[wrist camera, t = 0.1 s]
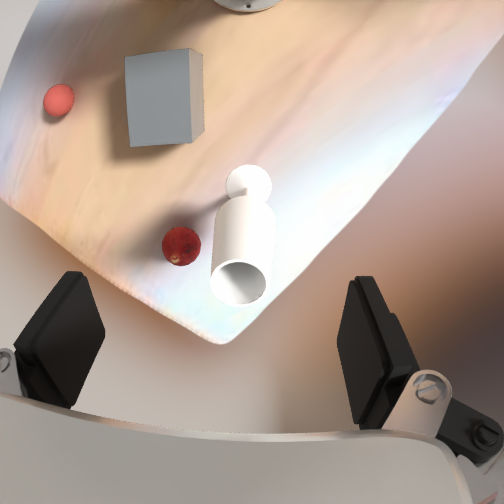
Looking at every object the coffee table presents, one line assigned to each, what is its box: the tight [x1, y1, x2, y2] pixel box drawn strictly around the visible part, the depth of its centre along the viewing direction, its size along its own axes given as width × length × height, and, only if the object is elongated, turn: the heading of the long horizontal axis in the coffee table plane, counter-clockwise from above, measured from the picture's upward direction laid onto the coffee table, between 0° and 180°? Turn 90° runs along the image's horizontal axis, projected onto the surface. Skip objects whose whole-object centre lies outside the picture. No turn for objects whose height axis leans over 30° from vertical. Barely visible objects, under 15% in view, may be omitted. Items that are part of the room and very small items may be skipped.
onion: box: [162, 227, 201, 266], centre depth 47 cm, size 6×6×8 cm
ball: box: [43, 84, 74, 116], centre depth 37 cm, size 5×5×5 cm
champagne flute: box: [211, 165, 276, 307], centre depth 36 cm, size 7×7×24 cm
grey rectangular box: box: [124, 48, 204, 147], centre depth 36 cm, size 11×8×9 cm
